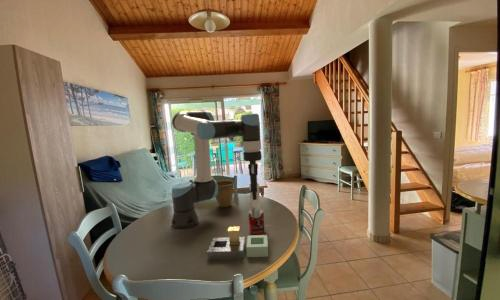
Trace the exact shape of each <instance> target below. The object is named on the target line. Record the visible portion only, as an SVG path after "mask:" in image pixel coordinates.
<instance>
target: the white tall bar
mask: <svg viewBox="0 0 500 300" xmlns="http://www.w3.org/2000/svg"><path fill="white" fill-rule="evenodd" d="M249 191H251V183H250V184H249ZM257 191H258V207H252V199H251V192H249V197H250V198H249V199H250V210H251V217H253V218H258V217H260V216H261V214H260V209H261V198H260V184H259V183H258V184H257Z"/></svg>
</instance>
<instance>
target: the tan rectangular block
mask: <svg viewBox="0 0 500 300" xmlns="http://www.w3.org/2000/svg"><path fill="white" fill-rule="evenodd" d="M240 231H241V227H240V226H228V228H227V234H228V237H229V239H230V246H240V240H239V237H240Z"/></svg>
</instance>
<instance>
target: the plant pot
mask: <svg viewBox="0 0 500 300" xmlns="http://www.w3.org/2000/svg"><path fill="white" fill-rule="evenodd" d="M216 182H217V185H218V193H217V196H216V197H215V199H216V201H217V204H218V206H219V207H220V208H228V207H230V206H231V203H232V200H233V196H234V189H235V181H232V180H220V181H216Z"/></svg>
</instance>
